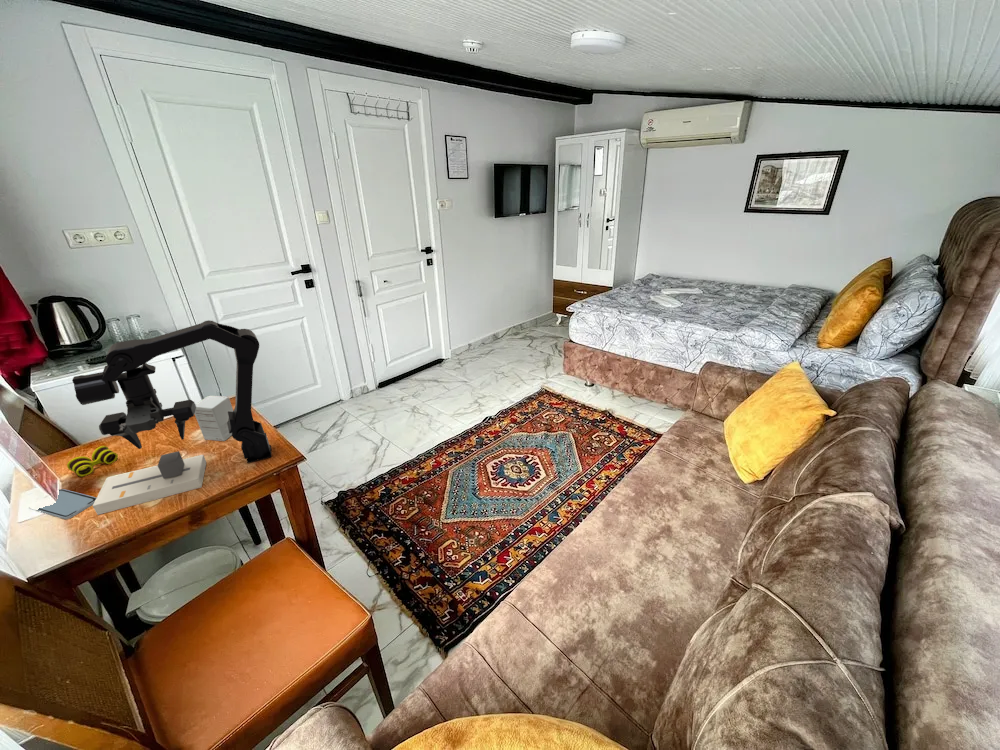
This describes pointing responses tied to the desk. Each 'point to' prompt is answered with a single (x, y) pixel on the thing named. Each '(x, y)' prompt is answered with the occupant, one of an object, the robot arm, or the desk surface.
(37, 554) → the desk surface
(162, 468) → the block
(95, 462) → the opera glasses
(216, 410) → the supplement box
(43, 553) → the desk surface
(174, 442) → the desk surface
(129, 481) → the block
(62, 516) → the smartphone
